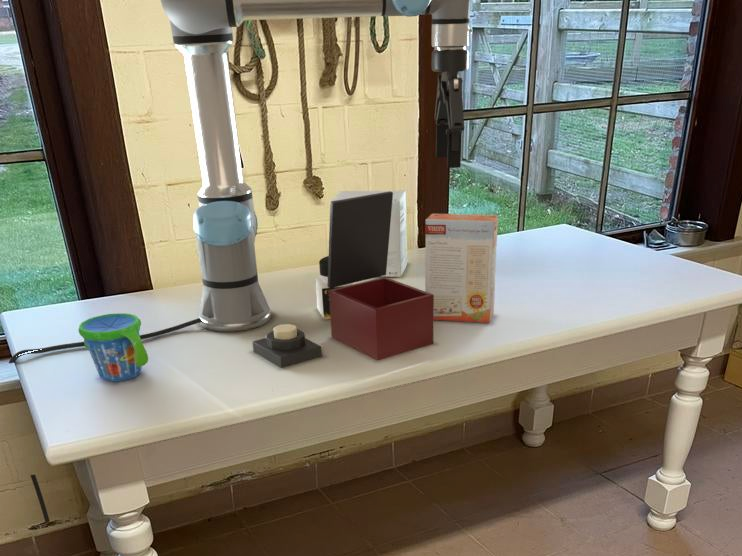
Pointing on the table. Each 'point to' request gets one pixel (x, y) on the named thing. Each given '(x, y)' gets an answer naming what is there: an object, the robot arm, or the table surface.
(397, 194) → the supplement box
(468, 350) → the table surface
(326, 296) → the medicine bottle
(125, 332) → the snack cup
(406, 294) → the dark red box
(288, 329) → the button
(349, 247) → the dark grey lid
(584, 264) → the table surface
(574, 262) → the table surface
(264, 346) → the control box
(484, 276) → the cracker box
